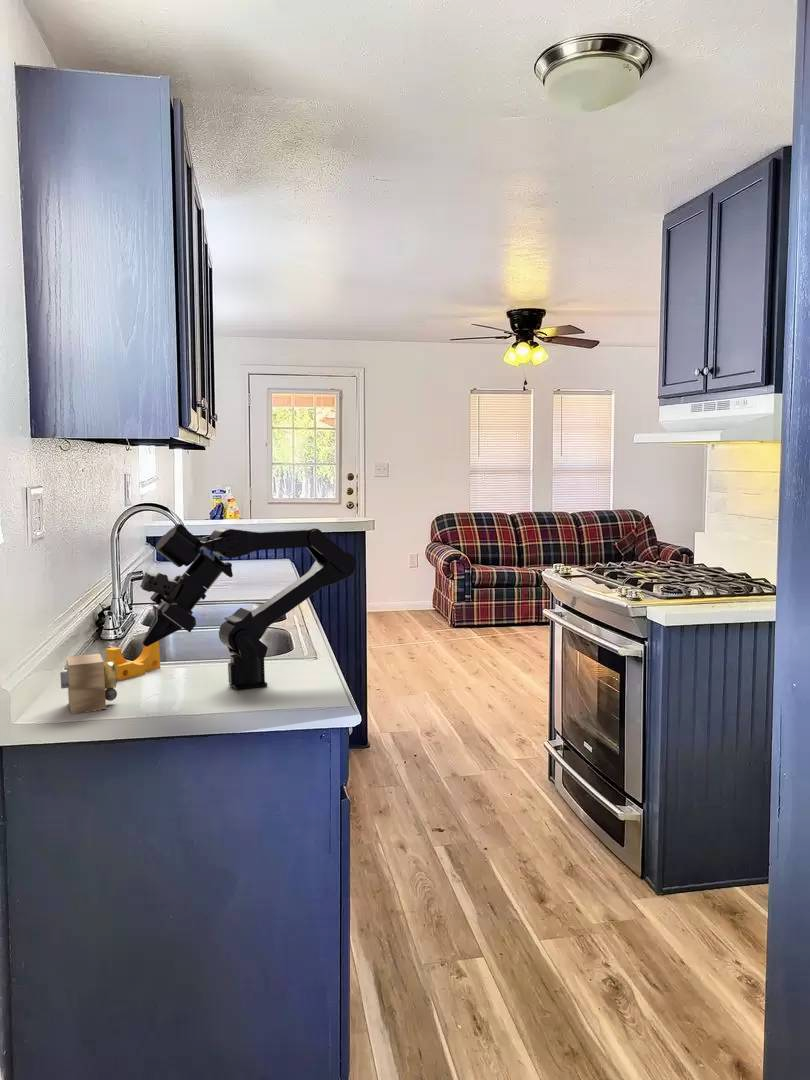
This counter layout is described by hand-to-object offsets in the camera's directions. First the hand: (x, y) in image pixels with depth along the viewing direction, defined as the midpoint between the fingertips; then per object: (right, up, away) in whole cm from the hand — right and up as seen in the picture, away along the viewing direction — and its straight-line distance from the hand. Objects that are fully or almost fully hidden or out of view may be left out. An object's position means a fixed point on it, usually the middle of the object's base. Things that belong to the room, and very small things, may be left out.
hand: (144, 645), depth 161 cm
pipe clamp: (-8, -9, +22) cm, 25 cm away
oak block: (-9, -11, -4) cm, 15 cm away
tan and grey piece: (-9, -10, -4) cm, 14 cm away
